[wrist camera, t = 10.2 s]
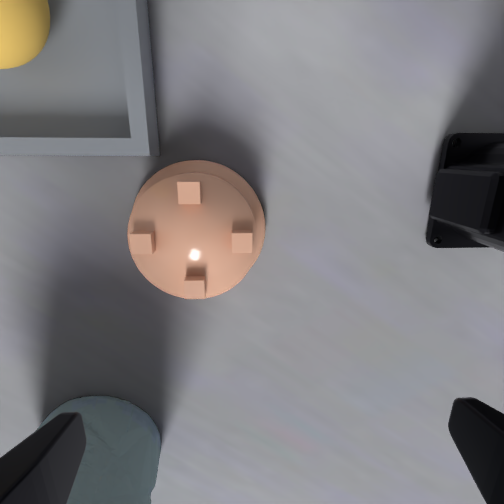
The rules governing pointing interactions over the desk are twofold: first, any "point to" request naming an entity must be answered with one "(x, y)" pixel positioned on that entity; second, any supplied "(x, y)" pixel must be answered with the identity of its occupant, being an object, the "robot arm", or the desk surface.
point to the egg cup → (196, 229)
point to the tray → (84, 85)
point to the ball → (22, 30)
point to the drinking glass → (114, 452)
